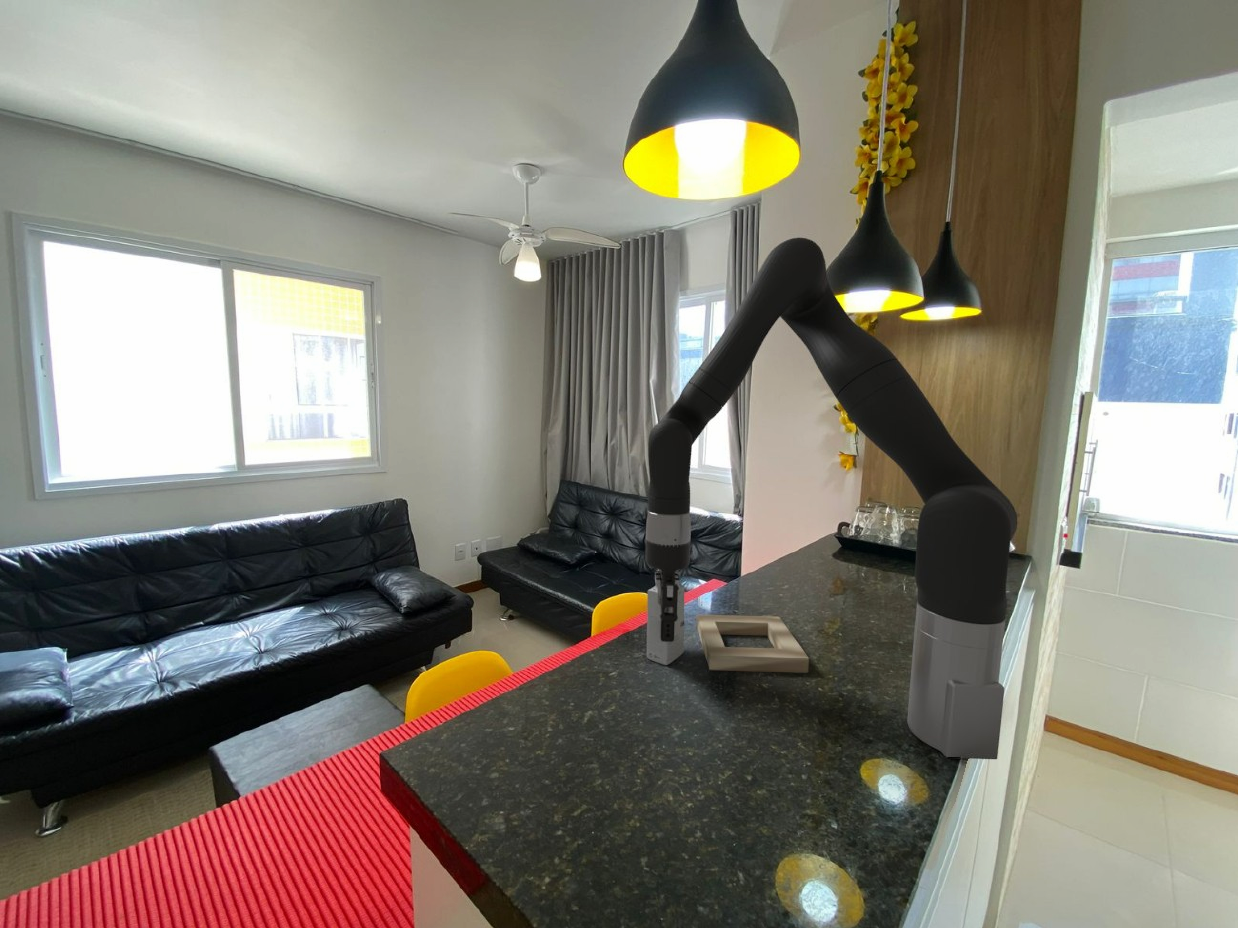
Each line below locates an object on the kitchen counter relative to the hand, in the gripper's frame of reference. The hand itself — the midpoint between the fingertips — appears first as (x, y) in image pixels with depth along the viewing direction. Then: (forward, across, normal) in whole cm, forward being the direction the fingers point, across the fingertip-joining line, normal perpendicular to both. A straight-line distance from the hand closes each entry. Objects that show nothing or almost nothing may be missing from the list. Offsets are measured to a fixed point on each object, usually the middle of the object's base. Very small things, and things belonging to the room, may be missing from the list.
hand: (665, 629), depth 82 cm
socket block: (+5, +3, -15) cm, 16 cm away
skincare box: (+5, 0, 0) cm, 5 cm away
